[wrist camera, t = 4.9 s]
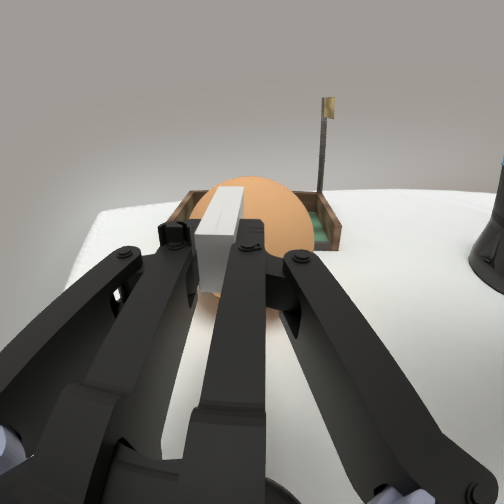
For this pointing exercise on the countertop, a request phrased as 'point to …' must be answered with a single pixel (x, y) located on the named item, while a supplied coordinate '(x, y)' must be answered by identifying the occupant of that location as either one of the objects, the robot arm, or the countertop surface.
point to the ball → (269, 214)
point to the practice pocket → (314, 202)
